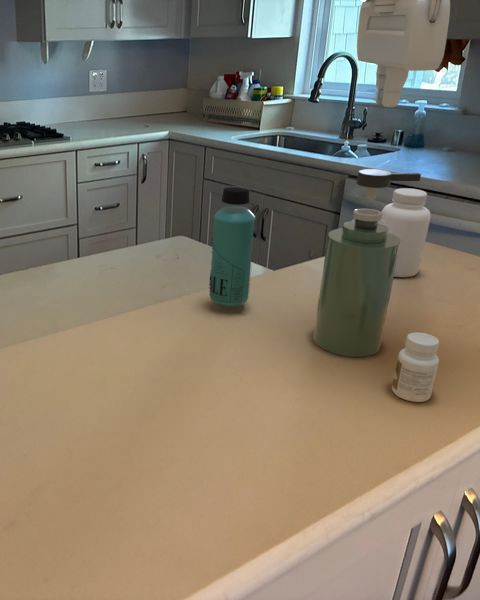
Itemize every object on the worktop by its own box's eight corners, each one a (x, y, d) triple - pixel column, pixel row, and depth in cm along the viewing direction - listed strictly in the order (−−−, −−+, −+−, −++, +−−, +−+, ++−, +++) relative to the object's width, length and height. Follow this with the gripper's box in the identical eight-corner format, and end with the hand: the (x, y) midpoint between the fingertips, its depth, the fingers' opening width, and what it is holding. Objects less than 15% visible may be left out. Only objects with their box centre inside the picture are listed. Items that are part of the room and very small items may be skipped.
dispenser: (369, 329, 93) (392, 203, 85) (388, 358, 85) (416, 222, 77) (307, 327, 94) (325, 202, 86) (320, 355, 86) (341, 221, 78)
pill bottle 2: (397, 380, 80) (409, 326, 76) (435, 392, 77) (448, 337, 74) (385, 394, 77) (397, 339, 74) (424, 407, 74) (437, 350, 71)
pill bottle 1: (416, 281, 110) (433, 199, 103) (367, 273, 113) (381, 193, 107) (420, 267, 116) (437, 188, 110) (374, 260, 120) (388, 184, 113)
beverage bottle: (252, 303, 103) (264, 184, 95) (240, 318, 97) (251, 194, 89) (215, 296, 106) (223, 180, 98) (201, 310, 100) (208, 190, 92)
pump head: (409, 196, 82) (414, 169, 81) (420, 204, 78) (426, 175, 77) (350, 195, 83) (354, 168, 82) (358, 203, 79) (363, 175, 78)
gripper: (478, -29, 61) (447, 116, 66) (406, -16, 79) (387, 96, 85) (410, -26, 62) (385, 116, 67) (355, -14, 80) (339, 97, 86)
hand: (386, 105), depth 76 cm, fingers closed
